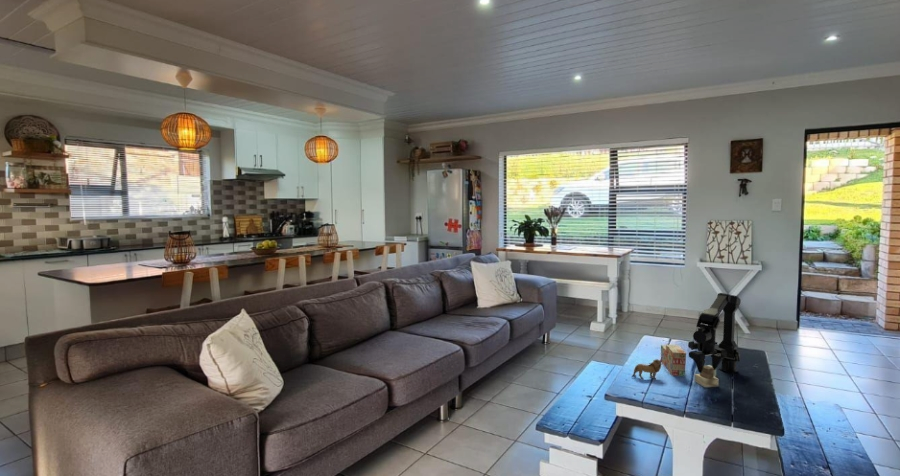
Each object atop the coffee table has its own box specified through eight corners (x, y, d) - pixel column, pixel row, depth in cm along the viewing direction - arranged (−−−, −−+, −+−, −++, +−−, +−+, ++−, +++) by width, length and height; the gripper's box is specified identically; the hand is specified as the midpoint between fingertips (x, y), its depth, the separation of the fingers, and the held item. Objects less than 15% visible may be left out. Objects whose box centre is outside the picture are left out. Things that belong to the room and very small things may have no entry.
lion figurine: (657, 375, 228) (658, 357, 227) (663, 379, 222) (664, 361, 222) (629, 375, 226) (629, 358, 226) (634, 380, 221) (635, 362, 220)
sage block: (708, 373, 230) (709, 365, 229) (715, 376, 226) (716, 367, 226) (703, 374, 228) (703, 366, 228) (710, 377, 224) (710, 368, 224)
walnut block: (705, 374, 219) (706, 365, 218) (713, 377, 215) (713, 367, 215) (699, 375, 217) (700, 366, 217) (707, 378, 214) (708, 369, 213)
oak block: (708, 381, 220) (708, 373, 220) (718, 387, 214) (718, 378, 213) (694, 382, 220) (695, 374, 219) (704, 387, 213) (705, 379, 212)
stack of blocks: (660, 361, 248) (661, 339, 247) (672, 362, 247) (673, 339, 246) (671, 375, 227) (672, 351, 226) (685, 376, 226) (686, 352, 225)
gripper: (707, 332, 226) (705, 363, 227) (679, 336, 219) (678, 368, 220) (728, 338, 215) (726, 370, 217) (700, 343, 208) (698, 376, 210)
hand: (706, 371), depth 216 cm, fingers open, 9 cm apart
